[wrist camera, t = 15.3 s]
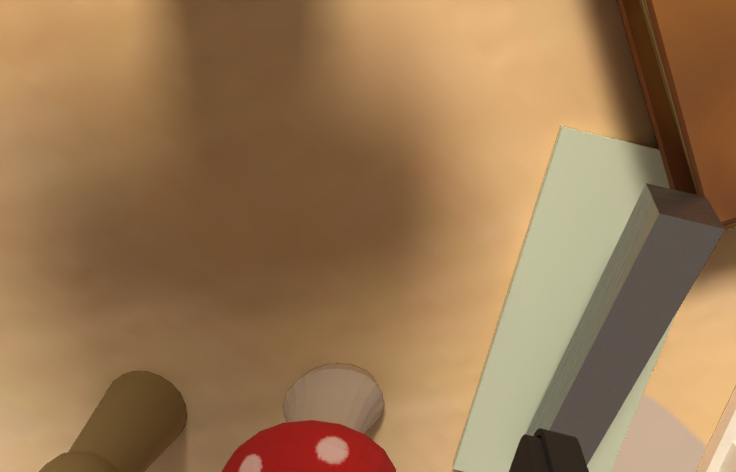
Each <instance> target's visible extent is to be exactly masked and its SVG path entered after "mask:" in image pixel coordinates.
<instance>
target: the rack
mask: <svg viewBox="0 0 736 472" xmlns="http://www.w3.org/2000/svg"><path fill="white" fill-rule="evenodd" d="M696 472H736V387H735V389H734V391H733V393H732V395H731V397H730V399H729V402H728V404H727V406H726V408H725V410H724V412H723V414H722V416H721V419H720V421H719V423H718V425H717V427H716V429H715V431H714V434H713V436H712V438H711V440H710V442H709V444H708V446H707V449H706V451H705V453H704V455H703V457H702V460H701V462H700V464H699V466H698V468H697V470H696Z"/></svg>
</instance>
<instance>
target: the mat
mask: <svg viewBox="0 0 736 472" xmlns="http://www.w3.org/2000/svg"><path fill="white" fill-rule="evenodd" d="M646 183H648V184H652V185H656V186H660V187H665V188H669V189H670V186H669V182H668V179H667V175H666V172H665V168H664V165H663V161H662V157H661V154H660V150H659V149H656V148H652V147H648V146H644V145H640V144H635V143H631V142H627V141H623V140H619V139H615V138H610V137H606V136H602V135H598V134H594V133H589V132H585V131H581V130H577V129H573V128H568V127H564V126H560V129H559V132H558V135H557V138H556V141H555V145H554V148H553V151H552V154H551V157H550V160H549V163H548V167H547V170H546V173H545V176H544V179H543V182H542V185H541V188H540V192H539V195H538V198H537V201H536V204H535V207H534V210H533V214H532V217H531V220H530V223H529V226H528V229H527V232H526V236H525V239H524V242H523V245H522V248H521V251H520V254H519V258H518V261H517V264H516V267H515V270H514V273H513V276H512V280H511V283H510V286H509V289H508V292H507V295H506V298H505V301H504V305H503V308H502V311H501V314H500V317H499V320H498V323H497V327H496V330H495V333H494V336H493V339H492V342H491V345H490V349H489V352H488V355H487V358H486V361H485V364H484V367H483V371H482V374H481V377H480V380H479V383H478V386H477V389H476V393H475V396H474V399H473V402H472V405H471V408H470V411H469V414H468V418H467V421H466V424H465V427H464V430H463V433H462V436H461V440H460V443H459V446H458V449H457V452H456V455H455V458H454V462H453V469H455V470H459V471H463V472H509V470H510V467H511V463H512V461H513V459H514V456H515V453H516V450H517V447H518V444H519V442H520V439H521V437H522V436H523V435H524V434H526V432H527V430H528V428H529V426H530V424H531V421H532V419H533V417H534V415H535V413H536V411H537V409H538V407H539V405H540V403H541V401H542V399H543V396H544V394H545V392H546V390H547V388H548V386H549V384H550V382H551V380H552V378H553V376H554V374H555V371H556V369H557V367H558V365H559V363H560V361H561V359H562V357H563V355H564V353H565V351H566V349H567V346H568V344H569V342H570V340H571V338H572V336H573V334H574V332H575V330H576V328H577V326H578V324H579V321H580V319H581V317H582V315H583V313H584V311H585V309H586V307H587V305H588V303H589V301H590V299H591V297H592V294H593V292H594V290H595V288H596V286H597V284H598V282H599V280H600V278H601V276H602V274H603V272H604V269H605V267H606V265H607V263H608V261H609V259H610V257H611V255H612V253H613V251H614V249H615V247H616V244H617V242H618V240H619V238H620V236H621V234H622V232H623V230H624V228H625V226H626V224H627V222H628V219H629V217H630V215H631V213H632V211H633V209H634V207H635V205H636V203H637V201H638V199H639V197H640V194H641V192H642V190H643V188H644V186H645V184H646ZM675 315H676V314H675ZM674 318H675V316H674ZM674 318H673V319H672V321H671V323H670V325H669V326H668V328H667V330H666V331H665V333H664V335H663V337H662V338H661V340H660V342H659V343H658V345H657V347H656V349H655V350H654V352H653V354H652V355H651V357H650V359H649V360H648V362H647V364H646V366H645V367H644V369H643V371H642V372H641V374H640V376H639V378H638V379H637V381H636V383H635V384H634V386H633V388H632V390H631V391H630V393H629V395H628V396H627V398H626V400H625V402H624V403H623V405H622V407H621V408H620V410H619V412H618V414H617V415H616V417H615V419H614V420H613V422H612V424H611V425H610V427H609V429H608V431H607V432H606V434H605V436H604V437H603V439H602V441H601V443H600V444H599V446H598V448H597V449H596V451H595V453H594V455H593V456H592V458H591V460H590V461H589V463H588V465H587V467H588V470H589V472H611V469H612V467H613V465H614V462H615V460H616V457H617V455H618V453H619V450H620V448H621V445H622V443H623V441H624V438H625V436H626V433H627V431H628V428H629V426H630V424H631V421H632V419H633V417H634V414H635V412H636V409H637V407H638V405H639V402H640V400H641V397H642V395H643V392H644V390H645V388H646V385H647V383H648V380H649V378H650V376H651V373H652V371H653V368H654V366H655V364H656V361H657V359H658V356H659V354H660V352H661V349H662V347H663V344H664V342H665V340H666V337H667V335H668V332H669V330H670V328H671V325H672V323H673V320H674Z"/></svg>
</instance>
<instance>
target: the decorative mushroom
mask: <svg viewBox="0 0 736 472" xmlns="http://www.w3.org/2000/svg"><path fill="white" fill-rule="evenodd" d="M383 407H384V401H383V394H382V392H381V390H380V388H379V386H378V384H377V383H376V381H375V379H374V378H373V376H372V375H370V374H369V373H368V372H367V371H365V370H364V369H362V368H359V367H356V366H354V365H349V364H340V363H337V364H329V365H324V366H321V367H318V368H316V369H313V370H311V371H310V372H309V373H307V374H306V375H304V376H303V377H302V378H300V379H299V380H298V381H297V382H295V383H294V384H293V385H292V387H291V388H290V389H289V391H288V392H287V393H286V396H285V399H284V403H283V409H284V415H285V418H286V421H287V423H282V424H279V425H277V426H274V427H271V428H268V429H266V430H263V431H260V432H258V433H257V434H256V435H254V436H253V437H252V438H250V439H249V440H248V441H246V442H245V443H243V444H242V445H241V446H240V447H239V448H238V449H237V450H236V451H235V452H234V453H233V455H232V456H231V458H230V459H229V461H228V462H227V464H226V466H225V467H224V469H223V470H222V472H396V469H395V467H394V465H393V464H392V462H391V460H390V459H389V457H388V455H387V454H386V452H385V450H384V449H383V448H381V447H380V446H379V445H378V444H376V443H375V442H374V441H373V440H371V439H370V438H369V437H368V436H366V435H365V434H366V432H367V431H368V430H369V429H370V428H371V427H372V426H373V425H374V424H375V423H376V421H377V420H378V419H379V418H380V416H381V413H382V410H383Z"/></svg>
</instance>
